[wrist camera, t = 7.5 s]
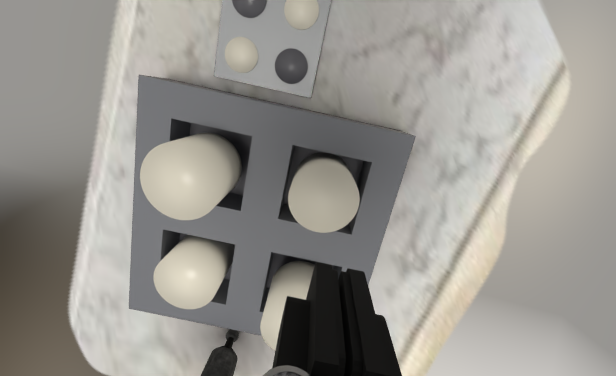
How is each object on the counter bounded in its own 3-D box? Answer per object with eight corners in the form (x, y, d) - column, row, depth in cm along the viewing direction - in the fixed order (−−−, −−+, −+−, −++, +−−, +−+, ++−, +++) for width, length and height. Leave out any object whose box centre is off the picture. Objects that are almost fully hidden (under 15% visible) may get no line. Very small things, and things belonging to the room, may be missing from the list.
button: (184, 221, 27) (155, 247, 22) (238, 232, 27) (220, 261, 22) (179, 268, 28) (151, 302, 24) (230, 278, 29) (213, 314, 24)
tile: (228, -36, 22) (225, -40, 21) (333, -11, 22) (333, -15, 22) (215, 76, 24) (212, 76, 24) (311, 98, 24) (310, 98, 24)
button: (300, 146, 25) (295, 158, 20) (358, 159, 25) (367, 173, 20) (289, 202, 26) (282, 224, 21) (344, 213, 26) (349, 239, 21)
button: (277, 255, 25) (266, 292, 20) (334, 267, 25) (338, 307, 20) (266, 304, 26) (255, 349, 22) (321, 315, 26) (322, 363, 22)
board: (167, 78, 24) (138, 74, 21) (400, 130, 25) (415, 136, 21) (152, 282, 30) (128, 308, 26) (343, 321, 31) (346, 352, 27)
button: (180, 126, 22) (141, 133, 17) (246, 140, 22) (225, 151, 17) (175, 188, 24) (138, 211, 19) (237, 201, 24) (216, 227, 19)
